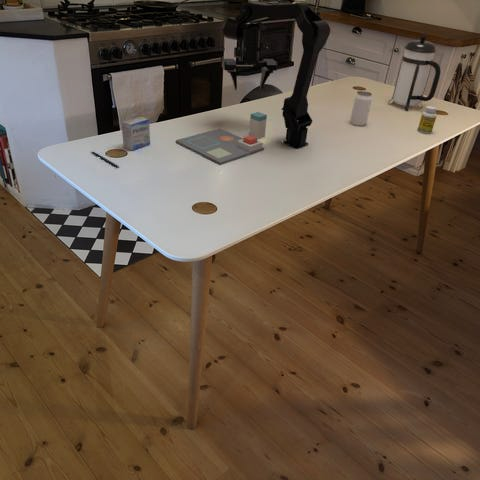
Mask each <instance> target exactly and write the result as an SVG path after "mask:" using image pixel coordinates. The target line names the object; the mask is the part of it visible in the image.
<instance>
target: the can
mask: <svg viewBox="0 0 480 480" xmlns="http://www.w3.org/2000/svg"><path fill="white" fill-rule="evenodd" d="M372 95H373V93H371V92H369V91H366V90H360V91H359V90H358V91H357V92H356V94H355V95H354V96H355V97H354V101H353V105H352V111H351V115H350V119H349V120H350V124H351V125H353V126H356V127H357V126H358V127H364V126H366V125H367V124H368V123H367V122H368V119H369V113H370V109H371V105H372V101H373V100H372V99H373V97H372Z"/></svg>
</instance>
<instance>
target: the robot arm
mask: <svg viewBox="0 0 480 480" xmlns="http://www.w3.org/2000/svg"><path fill="white" fill-rule="evenodd" d="M269 18H294V20H295V23H296V26H297V29H298V30H300V32H301V33H302V35H301V37H302V38H301V44H302V49H303V50H302V51H303V52H302V56H301V59H300V64H299V66H298V71H297V75H296V77H295V78H296V79H295V83H294V87H293V90H292V94H291V96H289V97H286V98H284V100H283V106H282V107H281V111H282V117H283V119H284V126H285V128H286V131H285V140H283V142H282V143H283V144H284V145H287V146H289V147H292V148H294V149H300V148H302V147H305V146H308V145H309V143H308V142H307V139H308V138H307V137H308V131H309V130H308V127H310V126H311V125H312V123H313V118H312V117H311V116H310V113H309V112H308V109H309V103H308V98H307V97H308V92H309V90H310V86H311V83H312V79H313V76H314V72H315V68H316V64H317V59H318V58H319V55H320V52H321V51H322V49H323V48H324V47H325V45H326V43H327V41H328V39H329V37H330V34H331V27H330V24H329V23H328V22H327V21H326V20H324V19H323V18H322V17H321V15H319V13H317V12H315V11H314V10H313V9H312V8H311V6H309V4H308V3H306V2H296V3H279V4H278V3H277V4H271V3H267V2H262V1H259V0H258V1H247V2H243V4H242V5H241V9H240V11H239V12H238V15H237V16H236V18H235V17H233V16H232V17H227V21H226V22H225V23H224V26H223V29H222V33H223V35H224V37H225V39H229V40H233V41H238V42H241V41H242V44H241V47H237V46H235V47H234V49H233V58H223V59H222V60H221V67H222V69H223V70H224V71H226V72H227V73H228V74H230V77H231V80H232V83H233V87H234V90H235V91H237V90H238V89H237V88H238V77H237V76H238V75H237V73H238V72H237V70H236V69H237V68H261V77H260V82H259V90H260V91H262V90H263V88H264V86H265V84H266V82H267V80H268V78H269V77H270V75H271V74H273V73H274V71H278V62H277V61H276V59H275V60H274V59H273V58H263V59H262V61H259V56H260V55H259V53H260V36H261V34H260V33H261V31H264V30H265V31H266V29H267V28H266V26H265V25H264V24H263V22H262V20H266V19H269ZM255 22H256V23H255ZM234 58H238V61H236V60H235V59H234Z"/></svg>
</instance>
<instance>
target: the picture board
mask: <svg viewBox="0 0 480 480" xmlns="http://www.w3.org/2000/svg"><path fill="white" fill-rule="evenodd" d="M175 143H176V144H178V145H180V146H181V147H184V148H185V149H188V150H190V151H191V152H194V153H196V154H198V155H200V156H202V157H203V158H205V159H208V160H210V161H211V162H214V163H216V164H218V165H220V166H221V165H224V164H227V163H230V162H233V161H236V160H239V159H242V158H245V157H247V156H248V157H249V156H251V155H253V154H257V153H259V152H262V151H264V150H265V147H264V146H263V144H264V142H262V141H260V140H259V139H257V143H254V144H251V145H249V144H247V143H245V142H243V138H242V137H240V136H238V135H237V134H234V133H231V132H230V131H227V130H225V129H223V128H221V127H219V128H215V129H211V130H208V131H205V132H201V133H196V134H194V135H190V136H186V137H184V138H180V139H176V140H175Z"/></svg>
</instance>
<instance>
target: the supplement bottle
mask: <svg viewBox="0 0 480 480" xmlns="http://www.w3.org/2000/svg"><path fill="white" fill-rule="evenodd" d="M437 109H438V108H437V107H436V106H434V105H426V106H425V111H423V112H422V113H421V116H420V121H419V124H418V127H417V132H419V133H420V134H424V135H426V134H427V135H429V134H431V133H432V132H433V128H434V125H435V123H436V119H437V117H438V115H437V113H436V112H437Z"/></svg>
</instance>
